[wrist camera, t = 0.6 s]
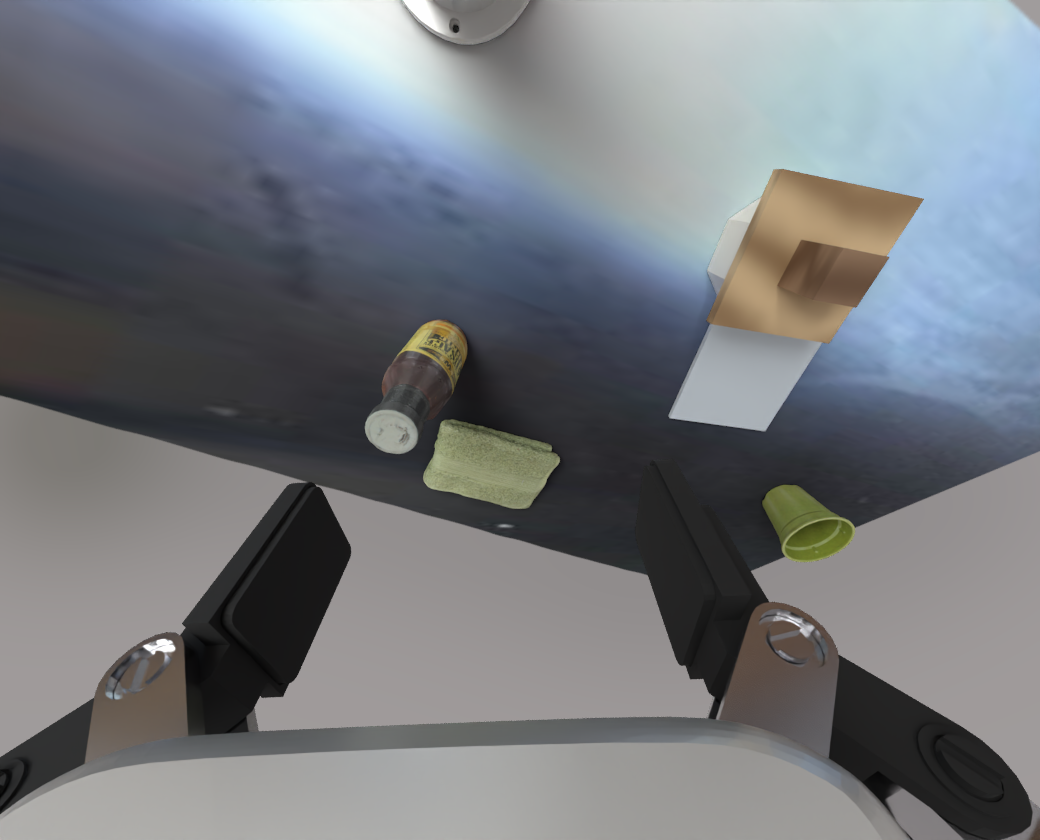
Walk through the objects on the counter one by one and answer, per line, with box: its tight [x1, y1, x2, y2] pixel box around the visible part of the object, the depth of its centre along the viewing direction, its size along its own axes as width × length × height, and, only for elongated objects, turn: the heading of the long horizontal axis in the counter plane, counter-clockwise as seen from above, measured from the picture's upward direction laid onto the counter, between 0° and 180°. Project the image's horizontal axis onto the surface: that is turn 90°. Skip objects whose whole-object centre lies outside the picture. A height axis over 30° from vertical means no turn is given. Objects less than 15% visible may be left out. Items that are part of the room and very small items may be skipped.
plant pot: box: [762, 485, 855, 562], centre depth 55 cm, size 9×9×9 cm
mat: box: [668, 324, 822, 431], centre depth 47 cm, size 14×14×1 cm
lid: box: [706, 169, 924, 344], centre depth 32 cm, size 13×13×6 cm
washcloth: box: [423, 419, 560, 509], centre depth 53 cm, size 13×18×3 cm
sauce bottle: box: [365, 320, 467, 454], centre depth 35 cm, size 6×6×20 cm
